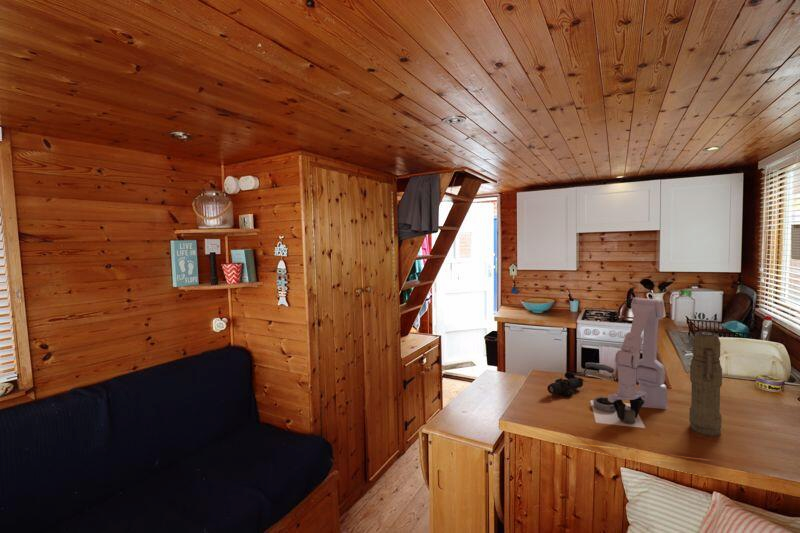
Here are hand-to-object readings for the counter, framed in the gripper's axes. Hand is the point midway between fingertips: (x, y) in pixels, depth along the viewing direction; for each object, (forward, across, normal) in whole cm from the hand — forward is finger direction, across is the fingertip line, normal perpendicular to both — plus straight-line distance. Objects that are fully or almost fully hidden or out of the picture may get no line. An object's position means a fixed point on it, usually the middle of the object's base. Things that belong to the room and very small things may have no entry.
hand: (627, 417), depth 145 cm
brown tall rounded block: (+2, -21, +12) cm, 24 cm away
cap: (+1, 0, 0) cm, 1 cm away
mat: (+2, 0, -7) cm, 7 cm away
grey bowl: (+1, 0, -12) cm, 12 cm away
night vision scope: (+2, +8, -28) cm, 29 cm away
